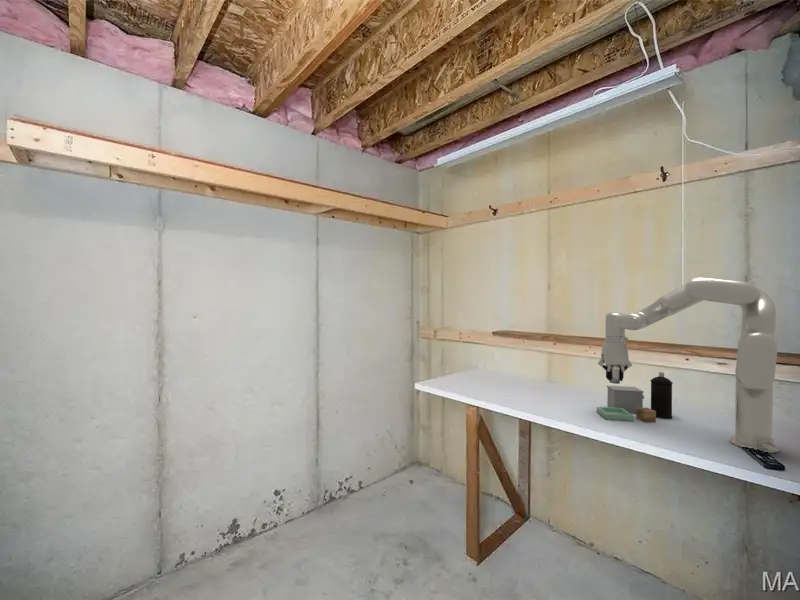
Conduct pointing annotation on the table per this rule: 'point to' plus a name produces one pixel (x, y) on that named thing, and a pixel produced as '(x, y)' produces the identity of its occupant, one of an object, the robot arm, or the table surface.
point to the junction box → (625, 398)
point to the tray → (615, 414)
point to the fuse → (615, 374)
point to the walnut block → (646, 415)
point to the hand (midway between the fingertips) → (614, 379)
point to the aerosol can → (661, 396)
